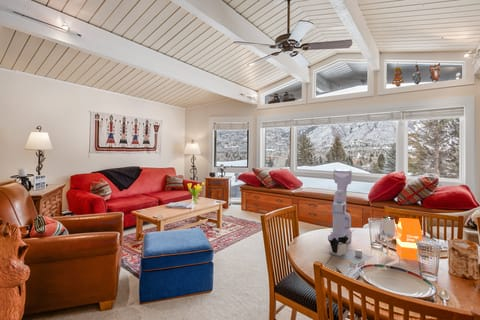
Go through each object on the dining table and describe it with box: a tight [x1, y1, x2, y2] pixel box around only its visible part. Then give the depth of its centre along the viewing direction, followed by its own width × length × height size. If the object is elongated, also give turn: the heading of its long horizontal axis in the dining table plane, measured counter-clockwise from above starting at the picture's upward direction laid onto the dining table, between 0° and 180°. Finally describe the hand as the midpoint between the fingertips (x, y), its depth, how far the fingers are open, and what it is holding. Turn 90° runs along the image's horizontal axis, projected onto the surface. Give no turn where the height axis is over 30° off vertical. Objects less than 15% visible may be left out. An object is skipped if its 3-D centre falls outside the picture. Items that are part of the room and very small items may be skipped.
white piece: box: [329, 242, 347, 256], centre depth 125 cm, size 5×5×5 cm
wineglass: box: [378, 216, 397, 258], centre depth 124 cm, size 8×8×20 cm
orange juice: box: [396, 217, 423, 261], centre depth 124 cm, size 8×9×20 cm
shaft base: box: [325, 246, 374, 265], centre depth 123 cm, size 16×16×4 cm
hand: (338, 251), depth 125 cm, fingers closed on white piece, 5 cm apart
